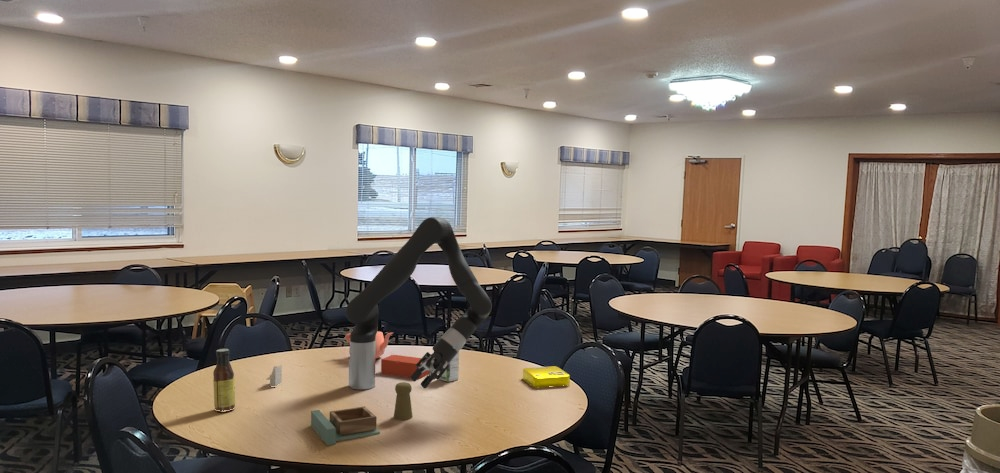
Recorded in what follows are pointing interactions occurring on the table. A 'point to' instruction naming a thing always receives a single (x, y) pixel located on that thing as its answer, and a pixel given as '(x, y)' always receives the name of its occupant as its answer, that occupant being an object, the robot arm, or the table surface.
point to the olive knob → (403, 402)
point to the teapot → (376, 343)
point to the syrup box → (451, 370)
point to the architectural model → (275, 376)
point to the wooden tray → (353, 420)
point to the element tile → (546, 376)
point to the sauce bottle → (223, 382)
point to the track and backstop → (332, 429)
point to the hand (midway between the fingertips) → (417, 383)
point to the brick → (401, 366)
